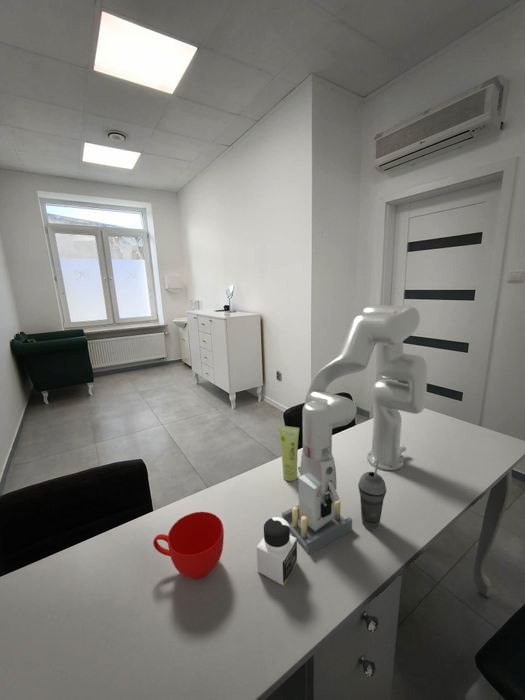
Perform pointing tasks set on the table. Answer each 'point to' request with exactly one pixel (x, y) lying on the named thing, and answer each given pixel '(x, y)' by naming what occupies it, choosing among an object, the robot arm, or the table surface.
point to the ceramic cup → (194, 544)
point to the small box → (312, 504)
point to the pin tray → (320, 537)
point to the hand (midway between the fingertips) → (317, 506)
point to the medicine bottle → (277, 551)
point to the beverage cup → (371, 498)
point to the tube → (289, 451)
